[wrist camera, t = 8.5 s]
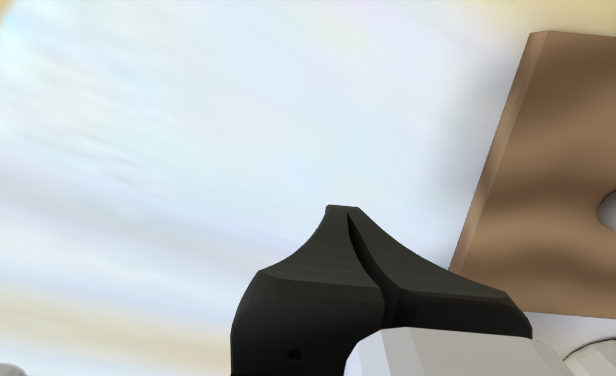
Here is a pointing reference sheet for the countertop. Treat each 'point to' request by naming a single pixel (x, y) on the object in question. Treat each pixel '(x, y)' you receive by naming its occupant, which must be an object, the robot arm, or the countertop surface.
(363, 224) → the robot arm
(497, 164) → the dial board
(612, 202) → the dial lever
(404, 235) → the countertop surface
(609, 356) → the soap bottle
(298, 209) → the countertop surface
